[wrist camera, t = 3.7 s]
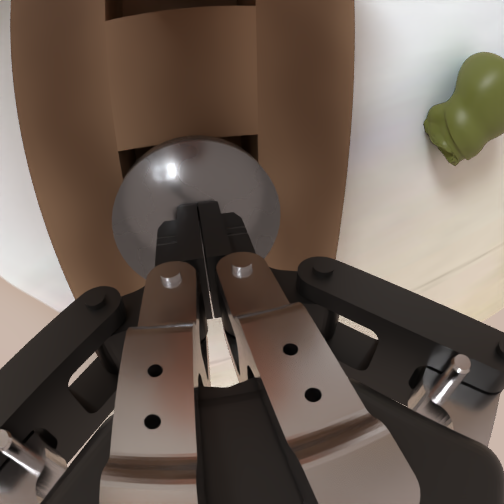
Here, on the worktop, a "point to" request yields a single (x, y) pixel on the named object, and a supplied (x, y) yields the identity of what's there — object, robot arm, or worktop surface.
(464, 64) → the pear
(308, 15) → the brown wooden block
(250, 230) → the grey knob
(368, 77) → the worktop surface
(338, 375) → the robot arm
